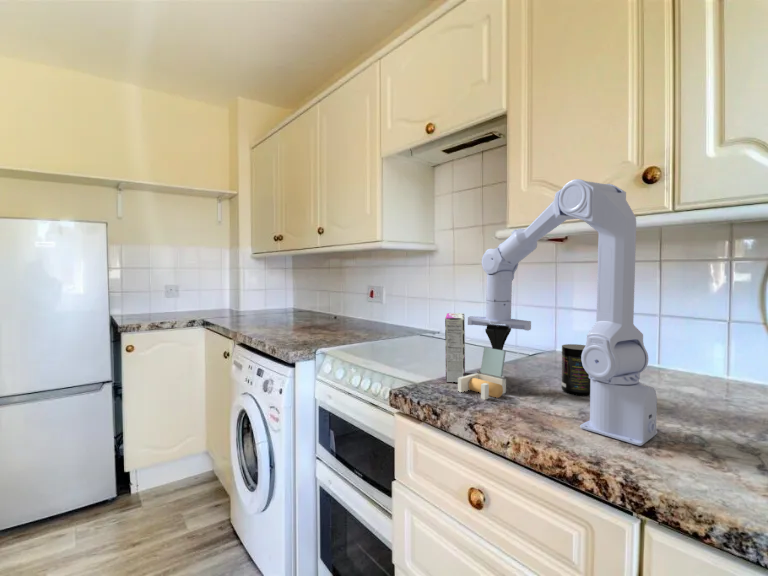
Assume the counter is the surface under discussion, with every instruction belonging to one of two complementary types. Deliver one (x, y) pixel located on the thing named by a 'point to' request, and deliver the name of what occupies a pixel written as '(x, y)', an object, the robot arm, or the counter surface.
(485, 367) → the cover flap
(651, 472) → the counter surface
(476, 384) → the tan cylinder roller
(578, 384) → the supplement container
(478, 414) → the counter surface
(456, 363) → the candy bar box
